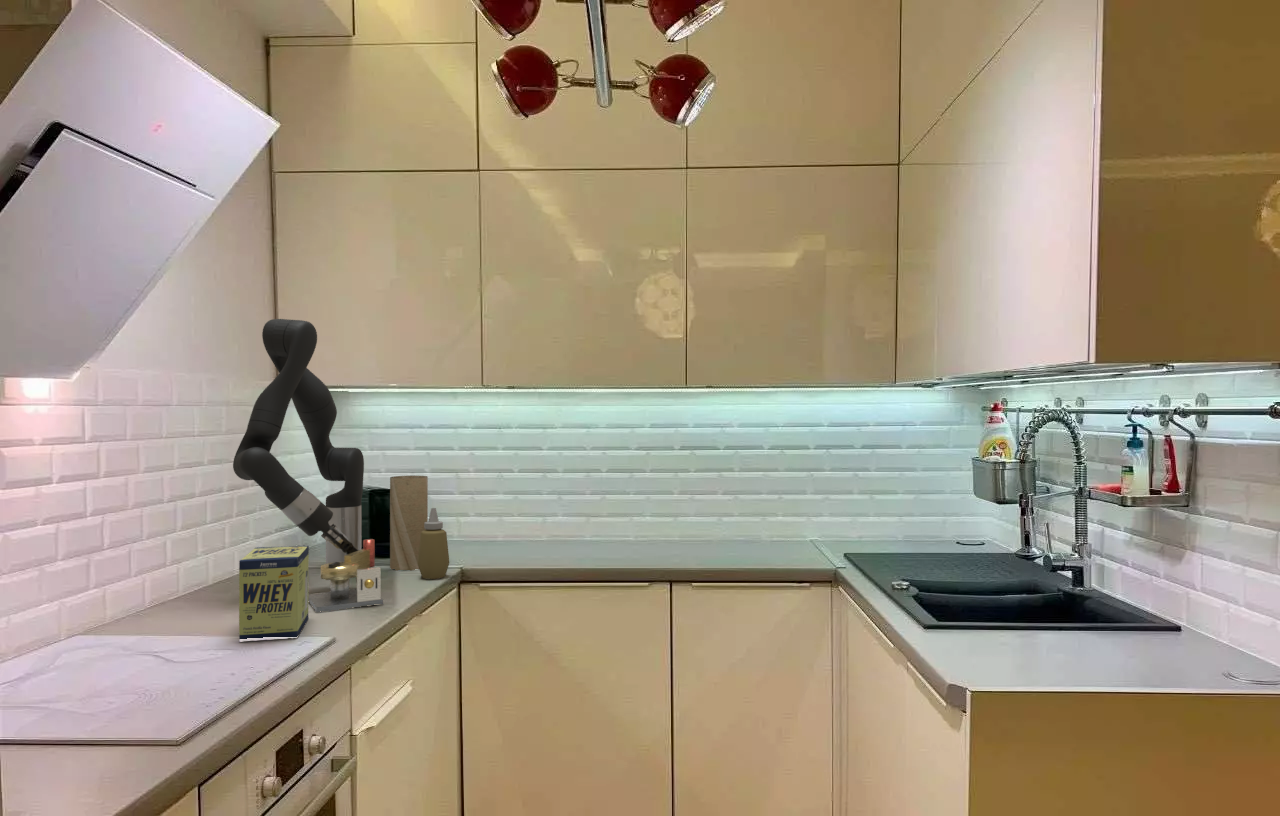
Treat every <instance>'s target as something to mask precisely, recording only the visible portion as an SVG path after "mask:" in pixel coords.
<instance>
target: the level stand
mask: <svg viewBox="0 0 1280 816" xmlns="http://www.w3.org/2000/svg"><path fill="white" fill-rule="evenodd" d="M381 569H382V568H381V567H380V566H378V567H377V566H376V567H371V568H367V569H357V570H356V577H355V587H356V588H353V589H351V588H350V578H349V579H342V580H329V582H330V583H329V584H330V586H329V590H330V591H326V592H325V591H324V592H316V593H309V595H308V601H309V602H310V603H309V602H308V603H309V605H310V604H311V605H312V606H313V608H314V609H315V610H314V609H313V608H312V609H313V610H314V612H315V611H316V612H320V611H321V612H320V613H323V612H322V611H328V612H332V611H331V610H336V611H340V610H339V609H344V610H347V609H346V608H352V607H360V606H367V605H374V604H383V605H384V599H383V598H382V597H381V596H382V595H381V594H382V593H381V589H382V587H381V582H382V581H381V577H382V576H381V575H382V574H381ZM311 605H310V606H311ZM312 606H311V607H312ZM360 608H361V607H360ZM352 609H353V608H352ZM316 612H315V613H316Z"/></svg>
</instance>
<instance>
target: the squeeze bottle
mask: <svg viewBox="0 0 1280 816" xmlns="http://www.w3.org/2000/svg"><path fill="white" fill-rule="evenodd" d="M443 523H444V522H443V521H441V520H439V516H438V512H437V508H436V507H432V508H430V513H429V517H428V522H425V523H424V529H426V530H424V531H422V532H421V535H420V545H419V555H418V567H419V572H420V575H421V578H422V579H423V580H425V579H426V580H437V579H438V580H439V579H444V577H446V576H447V572H448V569H449V566H450V555H449V545H448V535H447V531H446V530H444V529H443V527H444V526H443V525H444V524H443Z"/></svg>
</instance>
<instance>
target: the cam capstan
mask: <svg viewBox="0 0 1280 816" xmlns="http://www.w3.org/2000/svg"><path fill="white" fill-rule="evenodd" d="M362 547H363V548H361V550H359V551H356V552H353V553H350V554H348V555H345V556H344V562H334V563H327V564H326V563H324V564H322V565H320V579H322V580H326V581H327V580H328V581H330V580H342V579H349V580H350V579H354V578H356V570H357V569H367V568H376V565H375V562H376V561H375V557H376V555H375V554H376V553H375V550H376V549H375V548H376V547H375V539H373V538H368V539H366V538H365V539H363V540H362Z"/></svg>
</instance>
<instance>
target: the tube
mask: <svg viewBox="0 0 1280 816" xmlns="http://www.w3.org/2000/svg"><path fill="white" fill-rule="evenodd" d="M428 480H429V478H428V475H427V476H426V475H395V476H391V477H390V478H389V483H390V484H389V513H390V514H389V529H390V530H389V533H390V534H389V569H390V568H391V569H390V570H392V569H395V570H394V571H398V570H410V571H416V570H415V569H419V567H418V555H419V545H420V535H421V532H422V531H424V530H426V529H424V523H425V522H428V521H429V517H428V513H429V512H428V511H429V508H428V506H429V505H428V504H429V503H428V500H429V498H428V496H429V495H428V493H429V492H428V491H429V490H428V488H429V487H428V486H429V484H428Z"/></svg>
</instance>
